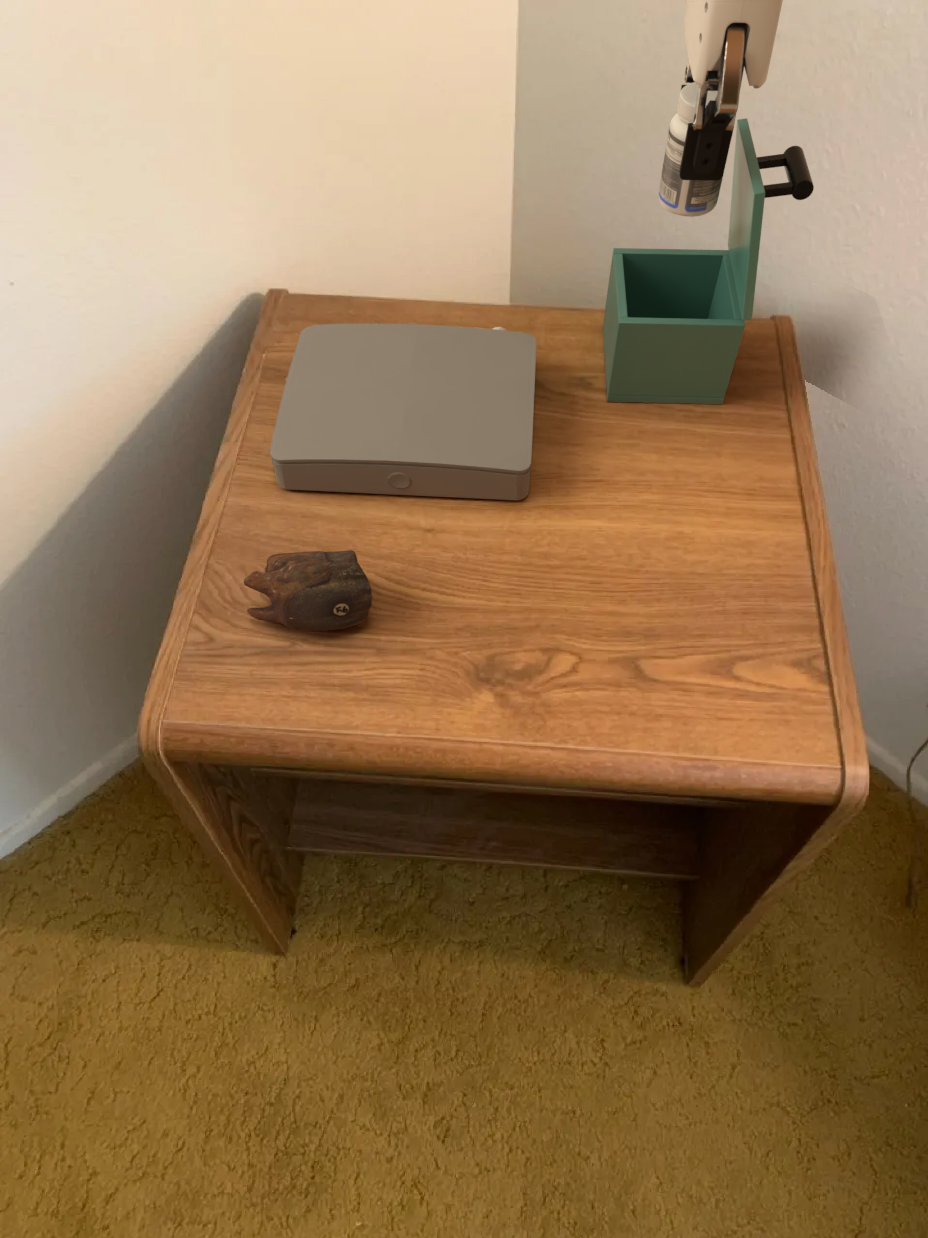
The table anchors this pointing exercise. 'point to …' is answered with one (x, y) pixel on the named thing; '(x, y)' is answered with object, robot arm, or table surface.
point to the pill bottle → (673, 190)
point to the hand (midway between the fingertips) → (697, 155)
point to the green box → (670, 326)
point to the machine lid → (757, 206)
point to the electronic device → (408, 411)
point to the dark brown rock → (312, 590)
